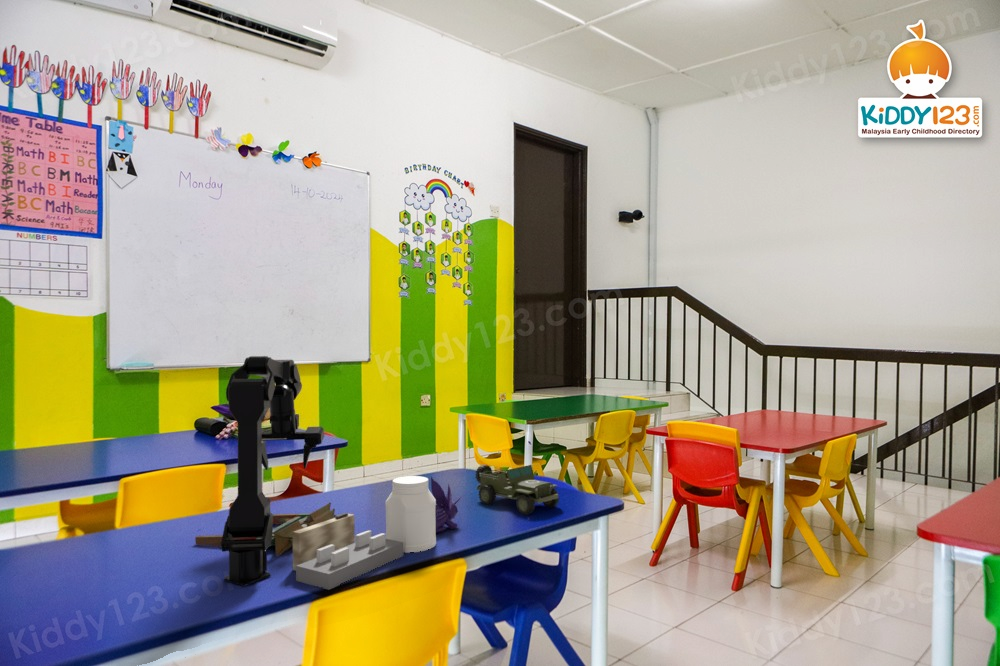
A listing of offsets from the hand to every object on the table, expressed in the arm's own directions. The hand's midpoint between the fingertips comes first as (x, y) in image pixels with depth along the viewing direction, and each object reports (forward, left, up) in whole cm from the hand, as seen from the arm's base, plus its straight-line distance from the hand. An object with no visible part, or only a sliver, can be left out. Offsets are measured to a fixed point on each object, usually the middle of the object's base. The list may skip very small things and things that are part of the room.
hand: (286, 468), depth 165 cm
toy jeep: (+49, -38, -16) cm, 64 cm away
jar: (+6, -35, -15) cm, 38 cm away
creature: (+19, -33, -15) cm, 41 cm away
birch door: (-11, -25, -15) cm, 31 cm away
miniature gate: (-5, -2, -16) cm, 17 cm away
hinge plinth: (-12, -34, -15) cm, 39 cm away
